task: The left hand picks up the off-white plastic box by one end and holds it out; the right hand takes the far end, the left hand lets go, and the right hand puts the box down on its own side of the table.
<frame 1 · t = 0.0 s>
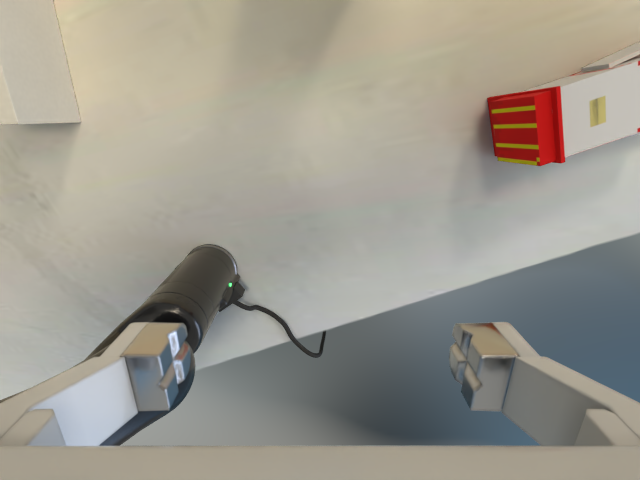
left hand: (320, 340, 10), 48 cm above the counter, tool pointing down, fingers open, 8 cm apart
box: (42, 40, 50), on the counter
toy: (578, 99, 52), on the counter
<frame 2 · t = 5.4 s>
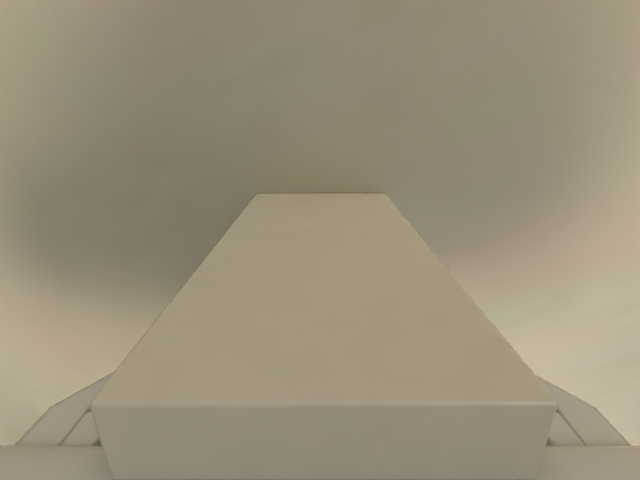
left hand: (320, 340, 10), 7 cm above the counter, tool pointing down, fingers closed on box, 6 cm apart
box: (321, 388, 19), on the counter, touching left hand
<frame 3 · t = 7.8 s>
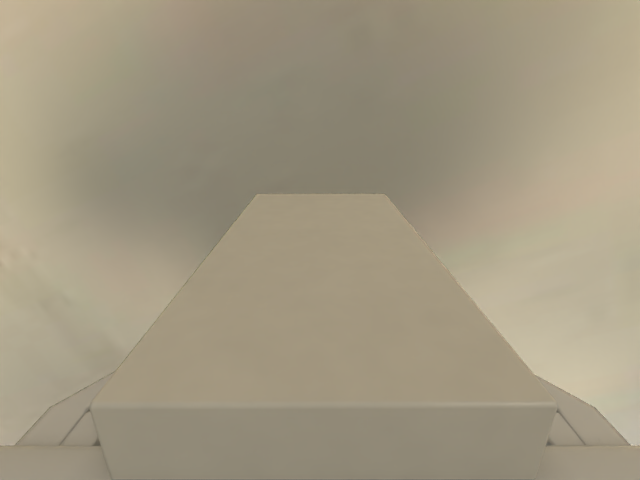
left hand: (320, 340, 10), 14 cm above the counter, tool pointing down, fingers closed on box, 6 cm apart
box: (321, 389, 19), point 7 cm above the counter, touching left hand
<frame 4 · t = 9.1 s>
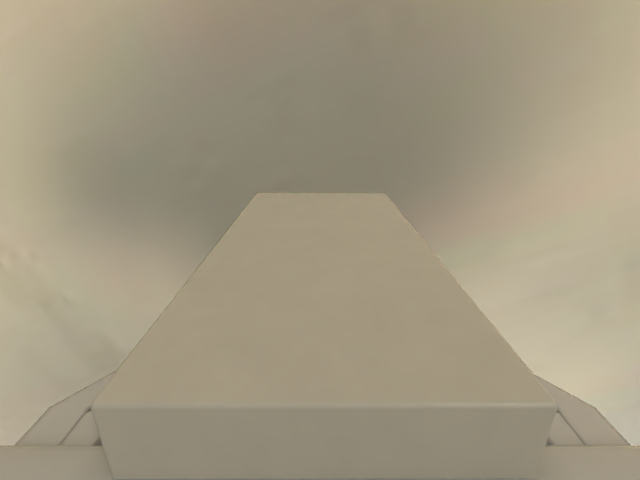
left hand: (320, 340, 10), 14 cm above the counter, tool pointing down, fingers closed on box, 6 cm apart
box: (320, 387, 19), point 7 cm above the counter, touching left hand, right hand
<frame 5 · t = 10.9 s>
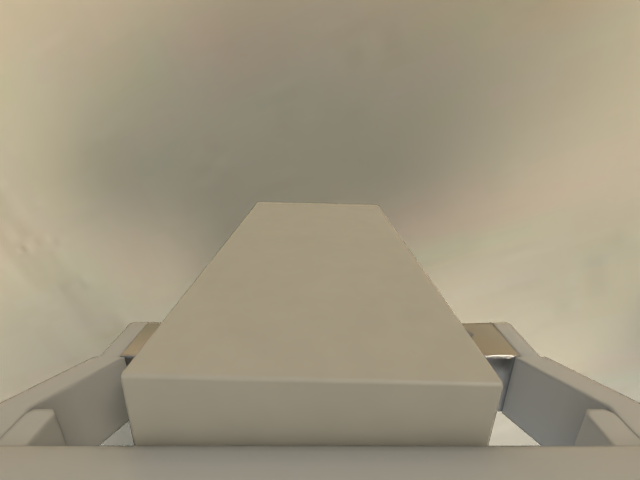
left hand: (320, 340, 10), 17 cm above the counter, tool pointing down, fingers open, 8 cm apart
box: (313, 389, 20), point 9 cm above the counter, touching right hand
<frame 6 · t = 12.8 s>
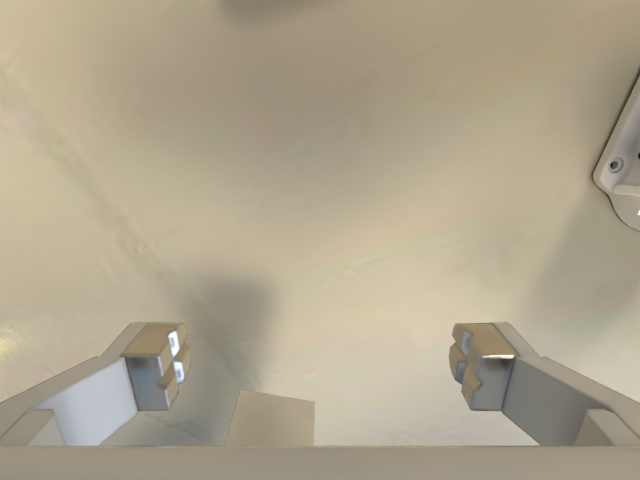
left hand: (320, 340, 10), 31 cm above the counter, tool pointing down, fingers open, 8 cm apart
when the right hand's fingers open (9 cm above the counter, at t = 16.8 s): box drops 1 cm, on the counter.
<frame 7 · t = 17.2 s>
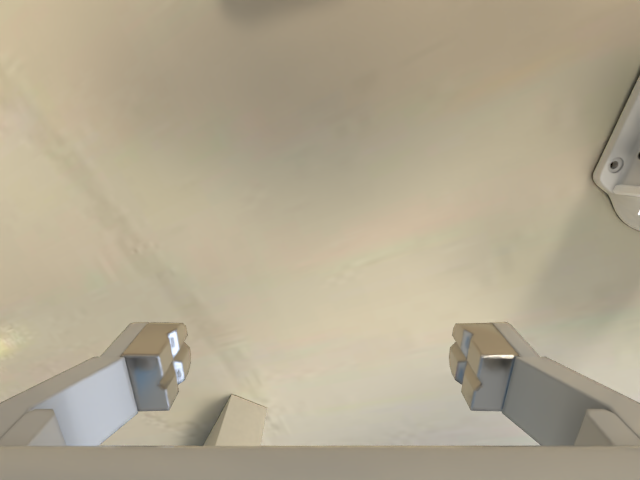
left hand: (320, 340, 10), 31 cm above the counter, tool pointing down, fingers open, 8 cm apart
box: (221, 449, 54), on the counter
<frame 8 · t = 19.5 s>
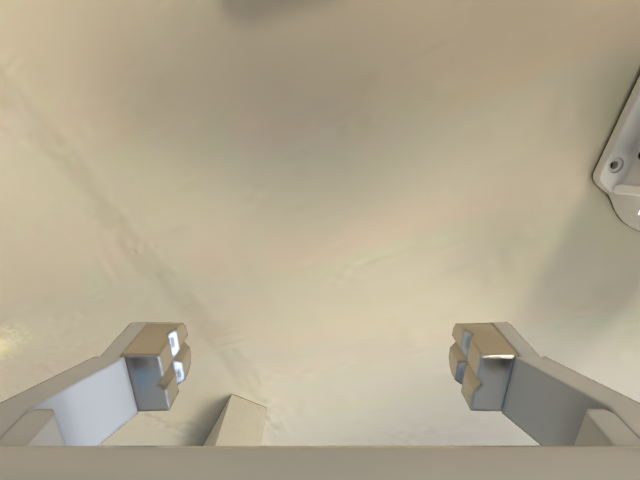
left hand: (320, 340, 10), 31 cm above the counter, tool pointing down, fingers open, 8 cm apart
box: (221, 449, 54), on the counter
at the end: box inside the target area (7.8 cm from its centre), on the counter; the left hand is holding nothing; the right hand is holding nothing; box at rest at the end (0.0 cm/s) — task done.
